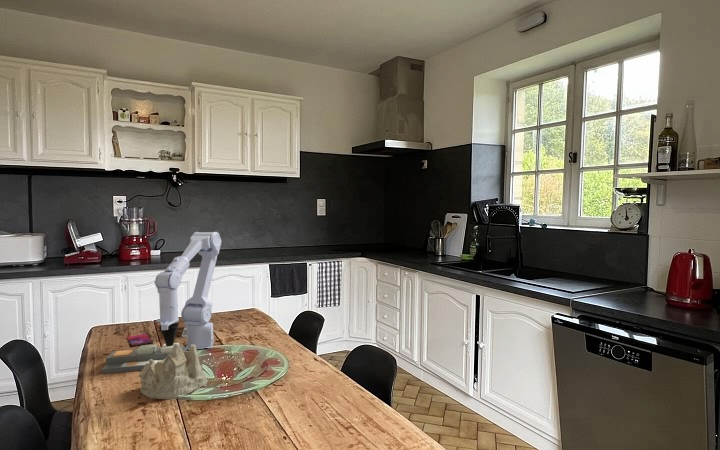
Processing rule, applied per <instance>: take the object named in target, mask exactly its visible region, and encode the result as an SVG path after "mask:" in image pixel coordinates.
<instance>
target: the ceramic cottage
mask: <svg viewBox="0 0 720 450" xmlns="http://www.w3.org/2000/svg"><path fill="white" fill-rule="evenodd" d="M175 343H176V344H174V346H173V349H172V353H170V354H168V355H167V357H166V358H165V359H164V360H162V361H160V362H157V363H156V364H154V360H153V359H150V360H149V363H146V365H145V366H144V368H143V370H140V373H139V374H138V377H139V378H140V381H141V387H140V393H141V394H142V395H144V396H145V397H147V398H149V399H158V400H166V399H167V400H174V399H178V398H177V396H178V395H182V394H187V393H190V392H192V391H193V390H195V389H198V388H200V387H201V388H203V387H205V386H206V385H208V383H209V381H208V378H207V375H206V373H204V367H203V365H204V361H202V360H201V358H200V357H199V354H198V353H199V352H198V349H196V345H194V344H192V345H190V347H189V350H187V351H182V348H180V346H181V345H179V346H178V344H177V343H178V342H175ZM207 382H208V383H207ZM204 385H205V386H204ZM202 386H203V387H202ZM201 388H200V389H201ZM198 390H199V389H198ZM192 393H193V392H192Z"/></svg>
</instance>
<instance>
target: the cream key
mask: <svg viewBox="0 0 720 450" xmlns="http://www.w3.org/2000/svg"><path fill="white" fill-rule="evenodd" d="M176 343H177V344H178V346H180V342H174V344H176ZM174 344H173V346H174ZM173 346H166V343H163V345H162V346H160V347H161V353H167V352H172V349H173Z"/></svg>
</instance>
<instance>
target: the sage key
mask: <svg viewBox="0 0 720 450" xmlns="http://www.w3.org/2000/svg"><path fill="white" fill-rule="evenodd" d="M156 348H157V344H155V343H154V344H148V345H142V346H138V348H136V349H137V355H141V354H154V352H155V351H156Z"/></svg>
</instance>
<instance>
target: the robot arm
mask: <svg viewBox="0 0 720 450" xmlns="http://www.w3.org/2000/svg"><path fill="white" fill-rule="evenodd" d="M221 246H222V238H221V236H220V233H219V232H218V231H212V232H211V231H210V232H207V231H206V232H205V231H203V232H202V231H201V232H199V231H195V232H193V234H192V235H191V236H190V238H189V244H188V245H187V247H186V248H185V249H184V251H183V253H182V254H181V255H179V256H176V257H174V258H173V260H172V262H171V263H170V264H169V265H168V266H167V267H166V269H165V270H164V271H160V272H159V273H158V274H157V275H156V276H155V280H154V285H155V287H156V291H157V293H158V300H159V318H157V319H156V320H155V322H156V323H160V326H159V331H160V332H161V334H162V337H163V340H164V344H166V346H173V344H174V343H175V339H176V333H177V329H178V327H179V325H180V323H179V321H180V319H179V307H178V303H179V302H178V288H179V286H181V282H182V279H183V275H184V274H185V273H186V271H187V270H188V269H189V267H190V266H191V265H190V262H191V260H193V259H194V257H196V255H197V254H198V255H199V256H201V262H200V267H199V269H198V270H199V271H198V274H197V278H196V282H195V286H194V291H193V293H192V297H190V298H188V299H187V300H186V301H185V303H184V306H183V308H182V309H181V311H180V312H181V313H180V317H181V319H182V322H184V325H185V324H187V337H186V346H184V348H187V351H189V347H190V345H192V344H194V345H196V349H197V350H205V349H204V348H208V349H212V348H213V345H214V341H215V339H214V323H213V322H210V320H211V318H212V309H213V308H212V307H213V305H212V303H211V302H210V300H208V297H209V296H208V295H209V293H210V289H211V283H212V280H213V275H214V272H215V267H216V263H217V259H218V255H219V254H220V250H221ZM208 322H209V323H208Z"/></svg>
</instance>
